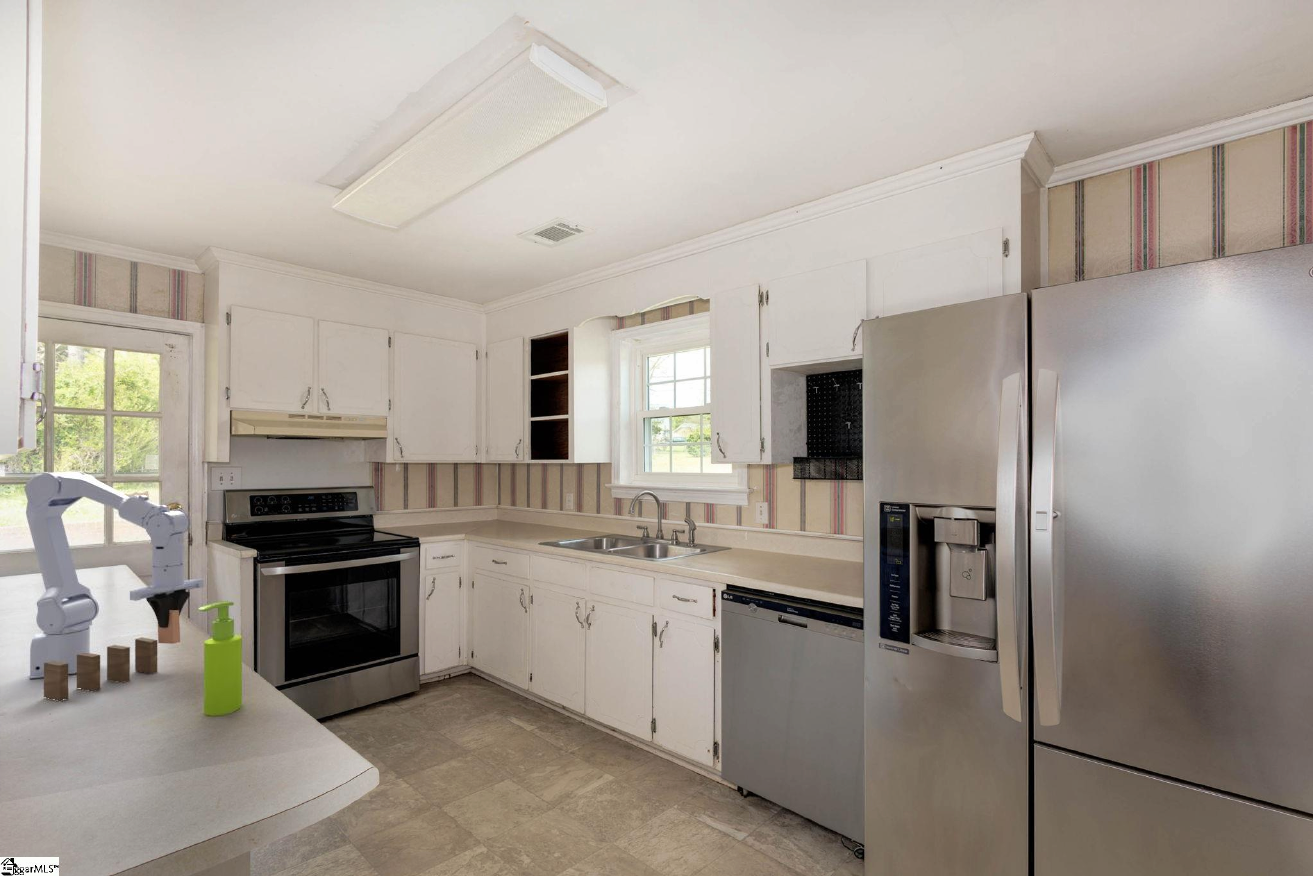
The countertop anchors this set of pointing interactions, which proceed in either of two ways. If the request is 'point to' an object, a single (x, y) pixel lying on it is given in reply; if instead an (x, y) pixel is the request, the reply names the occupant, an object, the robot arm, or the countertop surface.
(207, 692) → the soap dispenser
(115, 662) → the tile
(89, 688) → the tile
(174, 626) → the lead tile
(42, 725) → the countertop surface
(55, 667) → the end tile
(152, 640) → the tile
